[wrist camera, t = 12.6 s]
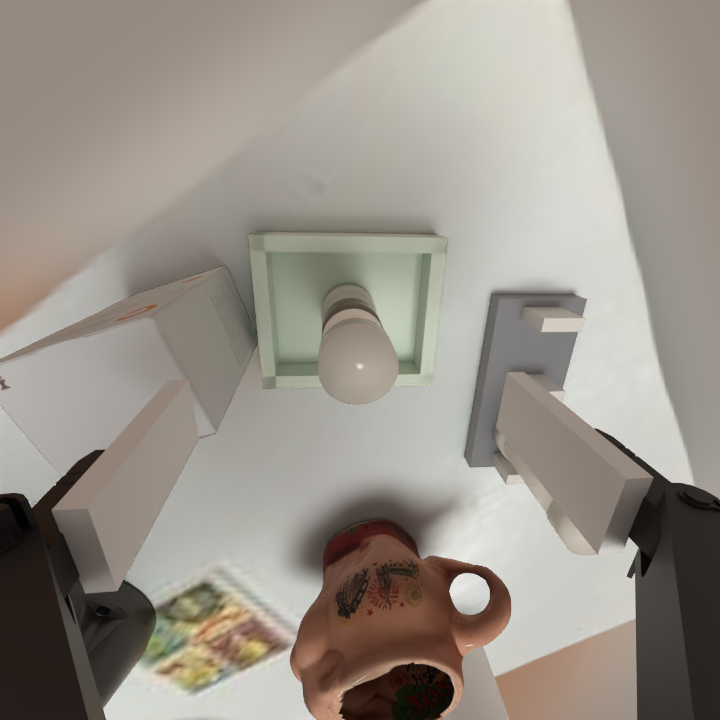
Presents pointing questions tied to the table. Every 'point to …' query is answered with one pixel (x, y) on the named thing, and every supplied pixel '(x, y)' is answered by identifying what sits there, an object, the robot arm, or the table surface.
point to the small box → (129, 366)
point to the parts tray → (335, 266)
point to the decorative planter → (389, 629)
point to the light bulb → (354, 347)
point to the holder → (540, 362)
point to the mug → (478, 691)
